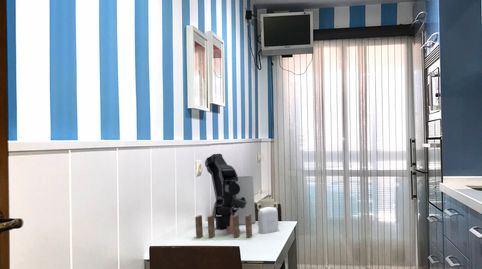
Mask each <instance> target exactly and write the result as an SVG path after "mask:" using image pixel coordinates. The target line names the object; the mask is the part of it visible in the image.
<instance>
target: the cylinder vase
mask: <svg viewBox="0 0 482 269" xmlns="http://www.w3.org/2000/svg"><path fill="white" fill-rule="evenodd" d="M236 183H237V184H238V185H239V186H240V192H239V193H238V194H237V195H236V198H238V199H241V198H242V197H244V198H245V200H246V201H247V202H246V203H247V204H246V205H245V208H243V209H242V208H235V209H238V210H237V211H236V213H235V215H239V226H246V223H245V216H246V215H248V214H251V223H252V224H255V223H256V212H255V211H256V208H255V206H256V204H255V188H254V187H255V186H254V176H252V175H246V176H244V175H243V176H241V175H240V176H238V181H236Z"/></svg>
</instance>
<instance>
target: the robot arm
mask: <svg viewBox="0 0 482 269" xmlns="http://www.w3.org/2000/svg"><path fill="white" fill-rule="evenodd" d="M204 166H205V167H206V171H207V172H208V173H209V174H210V176H211V182H212V185H213V192H214V196H215V202H214V204H213V210H212V213H211V215H214V220H215V231H216V230H219V231H224V230H225V231H226V230H227V226H228V227H229V226H230V220H231V215H232V214H233V216H234V215H235V213H236V211H237V210H238V209H235V208H242V209H243V208H245V205H246V204H247V203H246V202H247V201H246V200H245V198H244V197H242V198H241V199H238V198H236V195H237V194H238V193H239V192H240V186H239V185H238V184H237V183H236V181H238V177H239V176H238V173H237V171H236V169H234V166H232V165H230V164H227V162H226V160H225V159H224V157H223V154H222V153H213V154H211V155H210V156H208V157H206V159H205V160H204Z"/></svg>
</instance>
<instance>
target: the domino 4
mask: <svg viewBox="0 0 482 269" xmlns="http://www.w3.org/2000/svg"><path fill="white" fill-rule="evenodd" d="M245 223H246V225H245V234H246V238H251V237H252V234H253V225H252V223H251V214H248V215H246V216H245Z"/></svg>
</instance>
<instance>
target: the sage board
mask: <svg viewBox="0 0 482 269" xmlns="http://www.w3.org/2000/svg"><path fill="white" fill-rule="evenodd" d="M256 235H257V234H256V233H252V237H251V238H246V233H244V234H242V233H240V236H239V237H238V238H234V236H233V234H215V237H213V238H209V236H208V234H203V237H201V238H200V239H196V237H194V238H193V239H191V241H251V240H252V239H253V238H254V237H255V236H256Z"/></svg>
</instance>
